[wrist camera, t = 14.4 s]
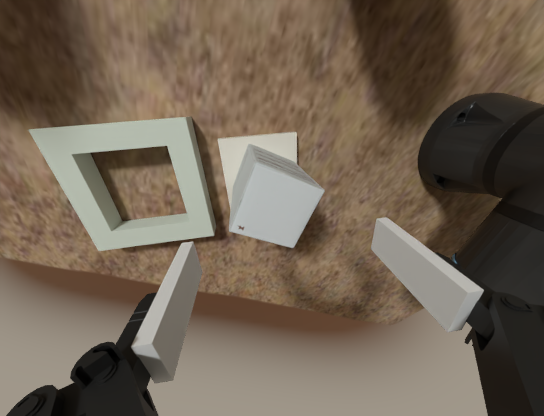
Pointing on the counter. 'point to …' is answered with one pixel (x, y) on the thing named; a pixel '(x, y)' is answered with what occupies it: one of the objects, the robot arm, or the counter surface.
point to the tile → (236, 146)
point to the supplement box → (272, 198)
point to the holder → (94, 194)
